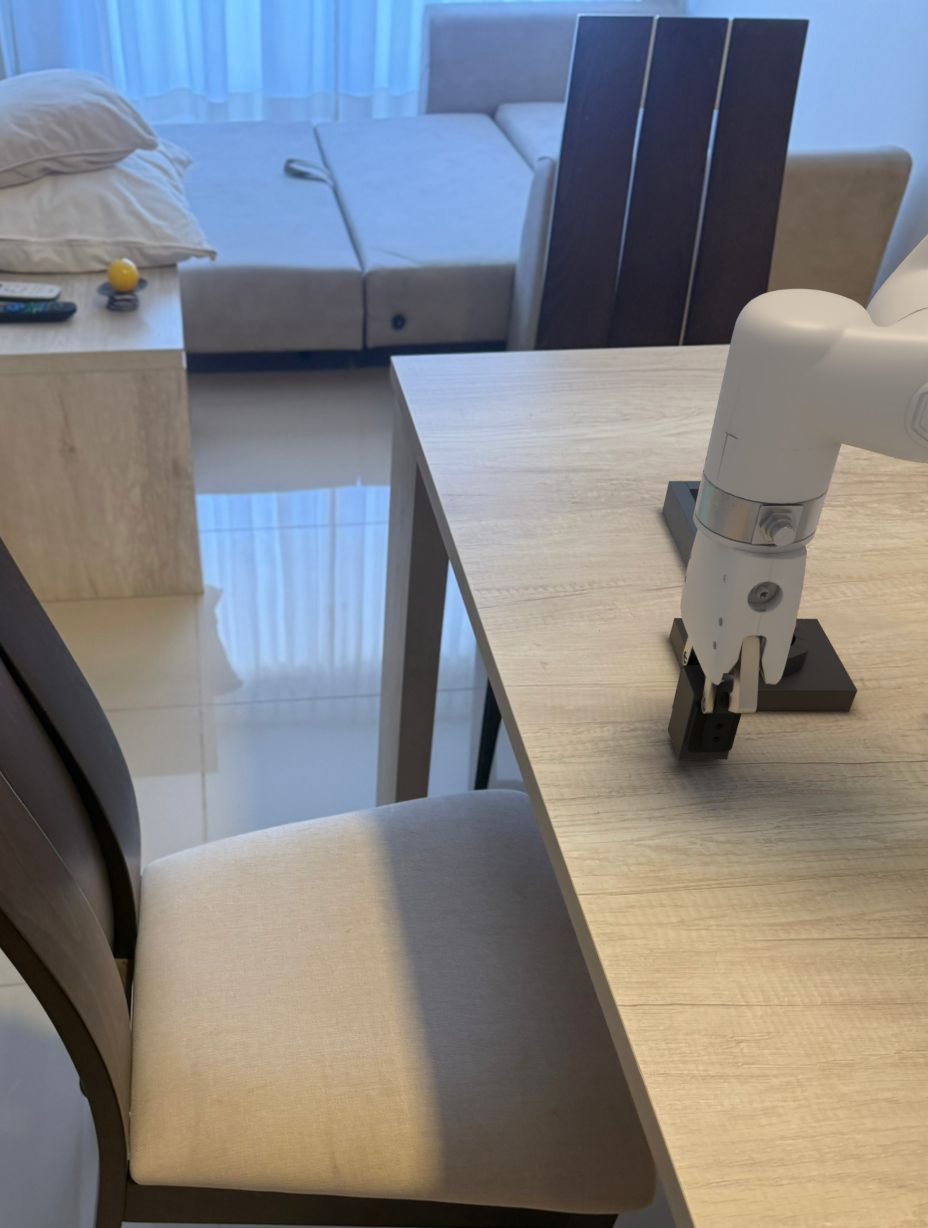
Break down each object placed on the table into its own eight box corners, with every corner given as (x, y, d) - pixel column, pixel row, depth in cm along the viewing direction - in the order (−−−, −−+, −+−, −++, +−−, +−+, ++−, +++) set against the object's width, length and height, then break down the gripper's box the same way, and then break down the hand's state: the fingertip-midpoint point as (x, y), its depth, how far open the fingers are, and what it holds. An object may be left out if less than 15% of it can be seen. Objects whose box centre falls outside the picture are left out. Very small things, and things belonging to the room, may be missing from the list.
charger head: (715, 729, 87) (734, 654, 83) (727, 759, 85) (748, 684, 80) (667, 729, 87) (684, 655, 83) (678, 760, 85) (696, 685, 80)
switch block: (809, 640, 98) (823, 599, 95) (849, 712, 90) (865, 671, 88) (668, 639, 98) (678, 599, 95) (696, 712, 90) (707, 670, 88)
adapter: (740, 513, 114) (749, 481, 112) (781, 589, 104) (791, 555, 101) (661, 513, 114) (668, 480, 112) (694, 589, 104) (703, 554, 101)
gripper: (863, 571, 67) (784, 806, 79) (780, 445, 79) (722, 665, 91) (733, 572, 67) (674, 807, 79) (670, 446, 79) (627, 666, 91)
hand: (700, 728), depth 85 cm, fingers closed on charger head, 3 cm apart
